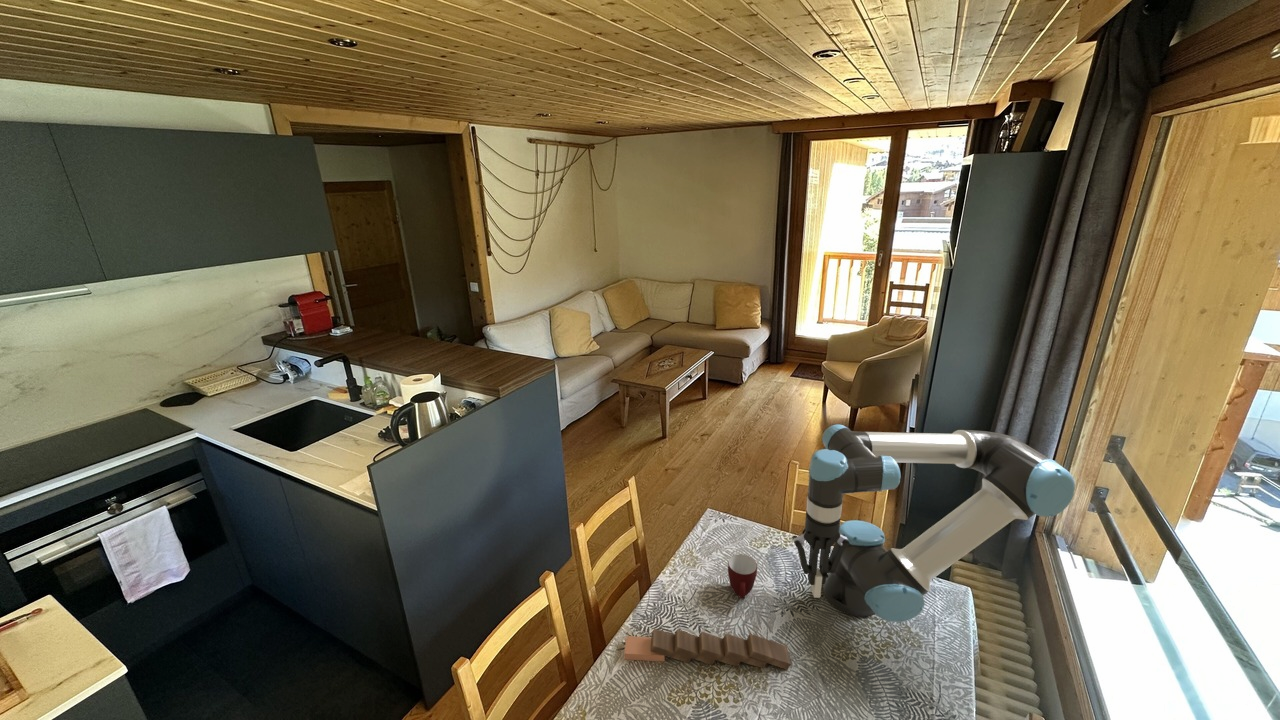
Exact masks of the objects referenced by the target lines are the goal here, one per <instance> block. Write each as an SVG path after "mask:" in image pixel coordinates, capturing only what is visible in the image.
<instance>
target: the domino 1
mask: <svg viewBox="0 0 1280 720" xmlns="http://www.w3.org/2000/svg"><path fill="white" fill-rule="evenodd" d="M651 638H652V636H649V637H648V636H631V635H630V636H628V635H627V636H625V643H624V652H623V655H624V657H623V658H624V660H625V661H626V660H628V661H629V660H631V661H647V662H648V661H649V662H665V661H666V659H665V657H666V656H664V655H661V654H658V653H654V652H651Z"/></svg>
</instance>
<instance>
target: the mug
mask: <svg viewBox="0 0 1280 720" xmlns="http://www.w3.org/2000/svg"><path fill="white" fill-rule="evenodd" d="M727 563H728V564H727V574H728V579H729V585H730V588H731V589H732V592H733V593H734V594H735V596H738V598H739V599H742V600H744V599H745V597H747V596H748V594H750V592H751V591H752V589H753V587H754V585H755V582H756V580H757V579H756V578H757V575H758V573H757V572H758V564H757V561H756V560H755V559H754V558H753V557H751V556H750V555H748V554H742V553H741V554H740V553H738V554H734V555H732V556H730V558H729V559H728V562H727Z"/></svg>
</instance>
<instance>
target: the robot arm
mask: <svg viewBox="0 0 1280 720" xmlns="http://www.w3.org/2000/svg"><path fill="white" fill-rule="evenodd" d="M821 438H822V439H821V440H822V444H823V446H824V447H825V448H824V449H823V448H822V449H819V450H818V449H817V450H816V451H815V452H814V453H813V454H812V455H811V458H810V462H809V463H810V464H809V469H808V488H807V489H808V491H807V499H806V512H805V521H804V529H803V530H802V533H801V534H800V535H799V536H798V535H792V540H793V543H794V545H795V547H796V548H797V552H798V553H797V554H798V558H799V561H800V566H801V568H802V571H803V573H804V574H805V575H807V576H808V577H807V581H808V583H809V585H810V591H811V593H812V596H813V598H821V595H822V594H821V593H823V595H824V597H825V599H826V600H827V602H828V603H830V605H831V606H833V607H834V608H835V609H837V610H838V611H840V612H842V613H845V615H850V616H852V617H853V616H854V617H858V618H859V617H860V618H861V617H870V616H872V615H874V614H875V615H876V616H877V617H878V618H879V619H881V620H884V621H886V622H890V623H901V622H903V623H904V622H907V621H909V620H912V619H914V618H915V617H918V615H920V614H921V613H922V611H923V610H924V609H923V608H924V607H925V603H926V602H925V600H924V595H926V594H927V593H929V592H930V590H931V581H932V580H933V579H935V578H936V577H937V576H939V575H940V574H941V573H943V572H945V570H947V569H949V567H951V566H952V565H954V564H955V563H957V562H958V561H959V560H960V559H963V557H964V556H965V557H966V555H968V554H969V553H970V552H971V551H973V550H974V549H976V548H977V547H979V546H980V545H981V544H982V543H984V542H985V541H987V540H988V539H989V538H990V537H992V536H993V535H995V534H996V533H998V532H999V531H1000V530H1002V529H1003V528H1005V527H1006V526H1007V525H1009V523H1011V522H1012V521H1014V520H1023V521H1024V520H1025V521H1027V520H1029V519H1030V518H1032V517H1033V516H1035V515H1036V516H1038V517H1043V518H1048V517H1054V516H1056V515H1058V514H1060V513H1062V512H1063V511H1064V510H1066V508H1067V507H1069V505H1070V503H1071V502H1072V501H1073V498H1074V495H1075V490H1076V483H1075V479H1074V477H1073V475H1072V473H1071V472H1069V471H1068V469H1066V468H1064V467H1063V466H1062V465H1061V464H1059V463H1058V462H1057V461H1056V460H1053V459H1052V458H1050V457H1048V456H1046V455H1044V454H1043V453H1041V452H1040V451H1038V450H1036V449H1034V448H1032V447H1031V446H1029V445H1028V444H1026V443H1025V442H1023V441H1022V440H1020V439H1018V438H1016V437H1015V436H1014V437H1013V436H1011V435H1007V434H1004V433H1000V432H993V431H992V432H991V431H986V430H972V429H970V430H969V429H957V430H955V431H953V432H952V433H935V432H934V433H933V432H932V433H931V432H929V433H928V432H925V433H924V432H891V431H889V432H887V431H886V432H885V431H884V432H882V431H854V430H851V429H850V428H849V427H847V426H845V425H842V424H834V425H830V426H828V428H826V429H825V430H824V432H823V434H822V437H821ZM898 463H899V464H900V463H903V464H904V463H906V464H908V463H909V464H945V465H946V464H948V465H949V464H951V465H955V467H958V468H962V469H973V470H975V471H977V472H980V473H982V474H983V475H985V476H984V477H983V478H982V480H981V482H982V483H981V484H982V485H981V488H980V490H978V491H977V492H975V493H974V494H973V495H972V496H971V497H969V498H967V499H966V500H965V501H964V502H962V503H961V504H960V505H958V506H957V507H956V508H954V509H953V510H952V511H950V512H949V513H948V514H947V515H945V516H944V517H943V518H942V519H940V520H939V521H937V522H936V523H935V524H933V525H932V526H931V527H929V528H928V529H926V530H925V531H924V532H923V533H922V534H920V535H919V536H917V537H916V538H915V539H913V540H912V541H911V542H909V543H908V544H906V546H905V547H903V548H893V547H891V548H890V549H889V550H887V549H886V547H885V545H884V543H885V542H886V539H885V537H886V536H885V533H884V531H883V530H882V529H881V528H880V527H878V526H877V525H875V524H873V523H870V522H867V521H864V520H858V519H857V520H856V519H855V520H846V521H844V522H842V523H841V517H842V509H843V508H842V507H843V502H844V501H843V499H844V495H845V494H854V493H869V492H870V493H871V492H882V491H888V490H895V489H897V488H898V487H899V486H900V482H901V478H902V477H901V469H900V467H899V464H898ZM805 542H806V543H807V544H808V545H809V547H810V548H809V554H808V556H809V557H808V560H807V556H806V552H805V548H804V546H805ZM832 547H833V548H832ZM818 561H819V564H818Z"/></svg>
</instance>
